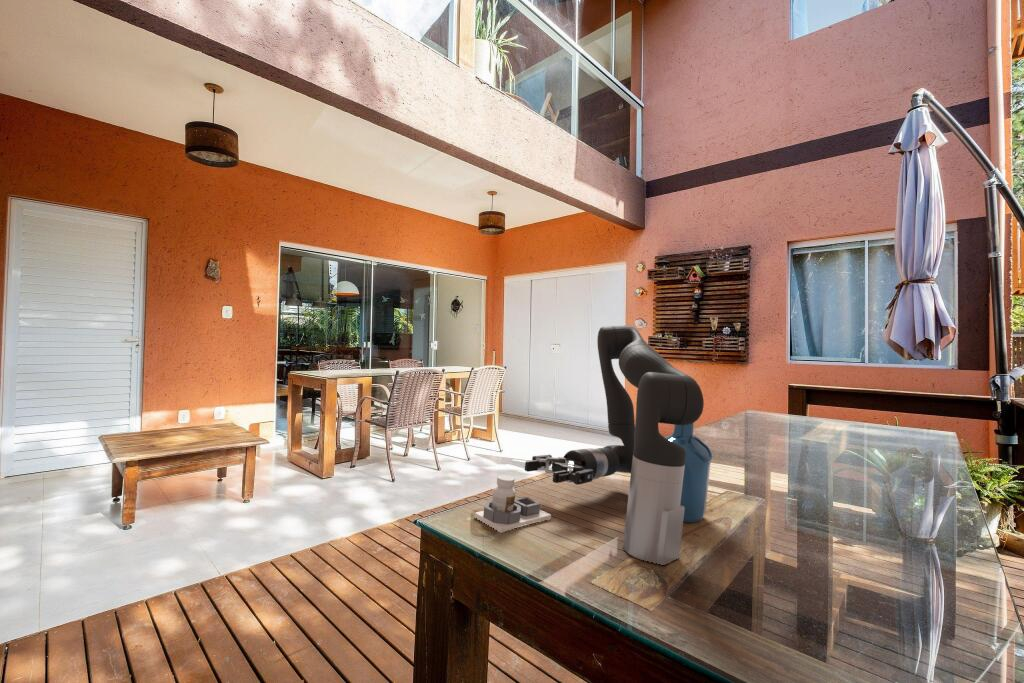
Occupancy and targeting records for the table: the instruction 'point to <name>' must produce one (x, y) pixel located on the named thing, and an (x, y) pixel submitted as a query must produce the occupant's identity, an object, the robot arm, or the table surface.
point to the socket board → (513, 515)
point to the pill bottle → (504, 494)
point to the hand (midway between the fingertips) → (539, 472)
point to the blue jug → (693, 472)
